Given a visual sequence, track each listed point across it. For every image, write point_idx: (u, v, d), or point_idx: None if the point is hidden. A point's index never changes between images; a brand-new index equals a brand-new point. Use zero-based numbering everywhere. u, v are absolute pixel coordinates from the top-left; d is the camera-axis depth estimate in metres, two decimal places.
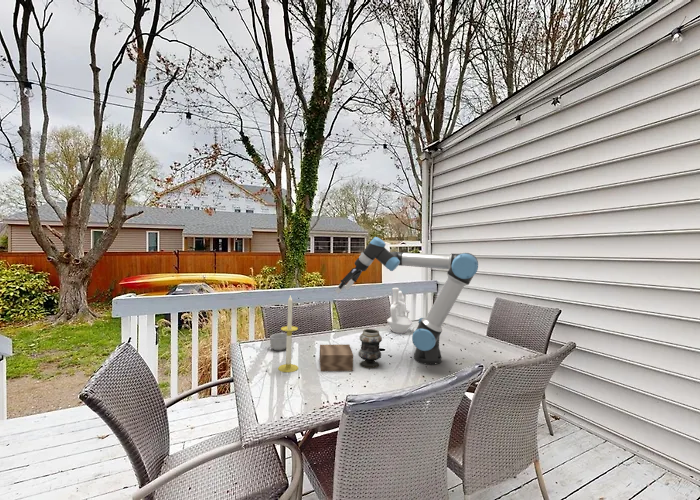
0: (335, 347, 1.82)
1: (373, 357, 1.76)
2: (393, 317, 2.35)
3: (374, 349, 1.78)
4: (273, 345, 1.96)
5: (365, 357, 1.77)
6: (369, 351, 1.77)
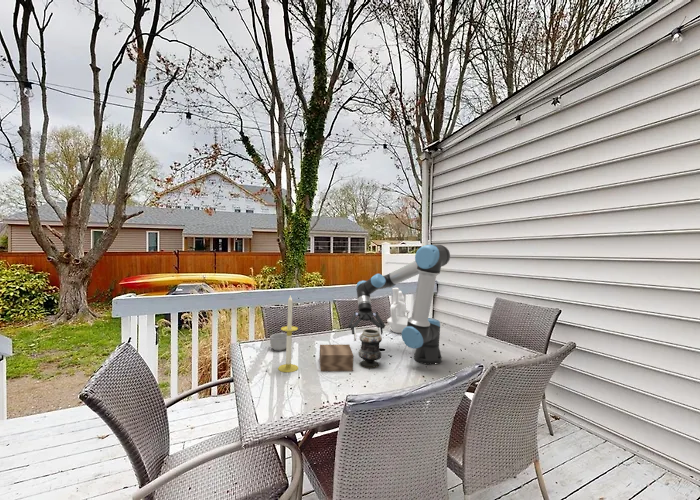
0: (335, 347, 1.82)
1: (373, 357, 1.76)
2: (393, 317, 2.35)
3: (374, 349, 1.78)
4: (273, 345, 1.96)
5: (365, 357, 1.77)
6: (369, 351, 1.77)
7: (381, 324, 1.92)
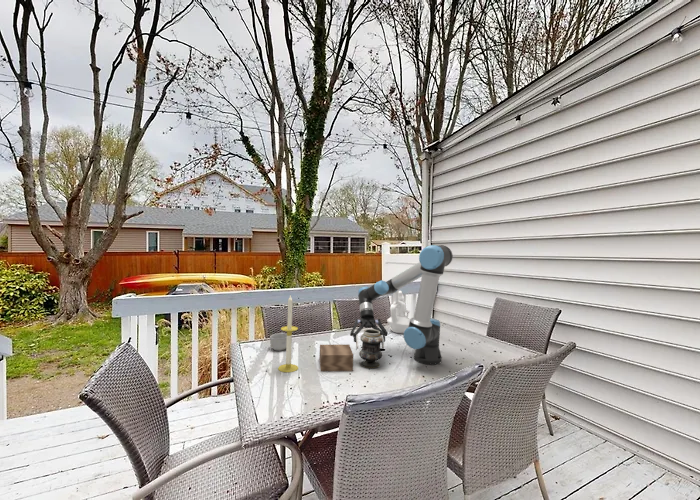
0: (335, 347, 1.82)
1: (372, 357, 1.76)
2: (393, 317, 2.35)
3: (374, 350, 1.77)
4: (273, 345, 1.96)
5: (365, 357, 1.77)
6: (369, 351, 1.77)
7: None
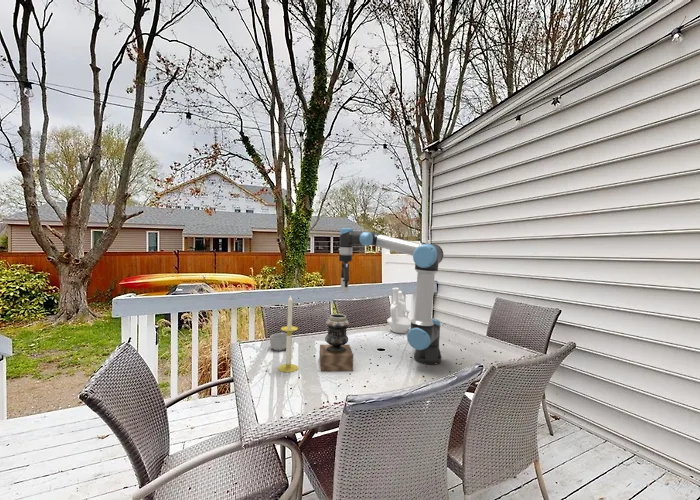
0: None
1: (337, 342, 1.73)
2: (393, 317, 2.35)
3: (339, 334, 1.75)
4: (273, 345, 1.96)
5: (329, 341, 1.75)
6: (333, 335, 1.75)
7: (342, 272, 2.11)
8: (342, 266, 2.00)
